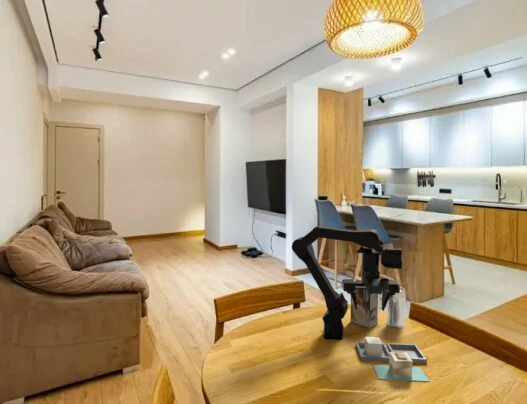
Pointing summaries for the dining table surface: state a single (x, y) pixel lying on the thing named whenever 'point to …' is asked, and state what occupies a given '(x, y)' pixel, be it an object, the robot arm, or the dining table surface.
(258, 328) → the dining table surface
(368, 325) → the coffee box
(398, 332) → the dining table surface
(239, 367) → the dining table surface
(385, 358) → the tray
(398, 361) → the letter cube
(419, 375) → the teal mat
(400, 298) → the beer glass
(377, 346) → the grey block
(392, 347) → the tray
